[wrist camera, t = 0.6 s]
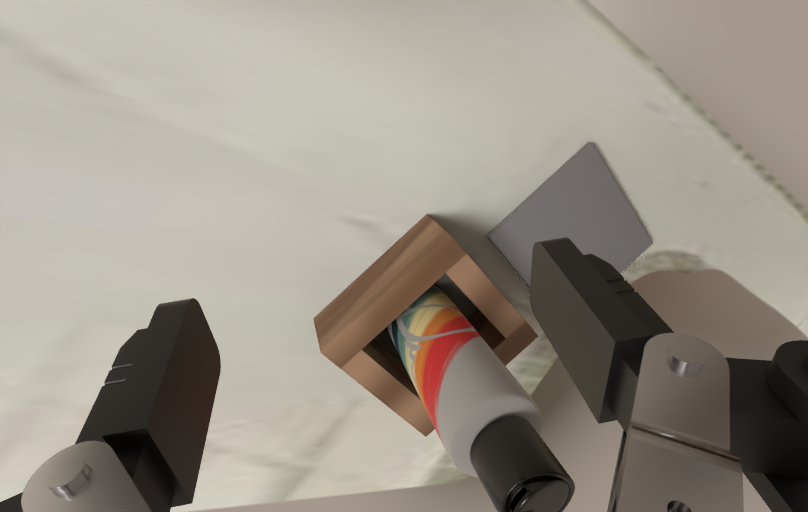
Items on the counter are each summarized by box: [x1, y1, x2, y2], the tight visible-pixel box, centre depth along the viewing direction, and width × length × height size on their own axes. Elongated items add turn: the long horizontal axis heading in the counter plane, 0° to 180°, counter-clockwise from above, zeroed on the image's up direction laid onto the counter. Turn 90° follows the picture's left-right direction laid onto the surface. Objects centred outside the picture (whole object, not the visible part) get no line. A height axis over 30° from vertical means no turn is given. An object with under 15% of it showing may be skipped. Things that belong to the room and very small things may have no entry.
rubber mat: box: [487, 142, 653, 288], centre depth 41 cm, size 12×11×1 cm
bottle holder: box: [314, 214, 538, 436], centre depth 38 cm, size 12×12×5 cm
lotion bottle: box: [387, 285, 575, 512], centre depth 31 cm, size 6×6×20 cm
